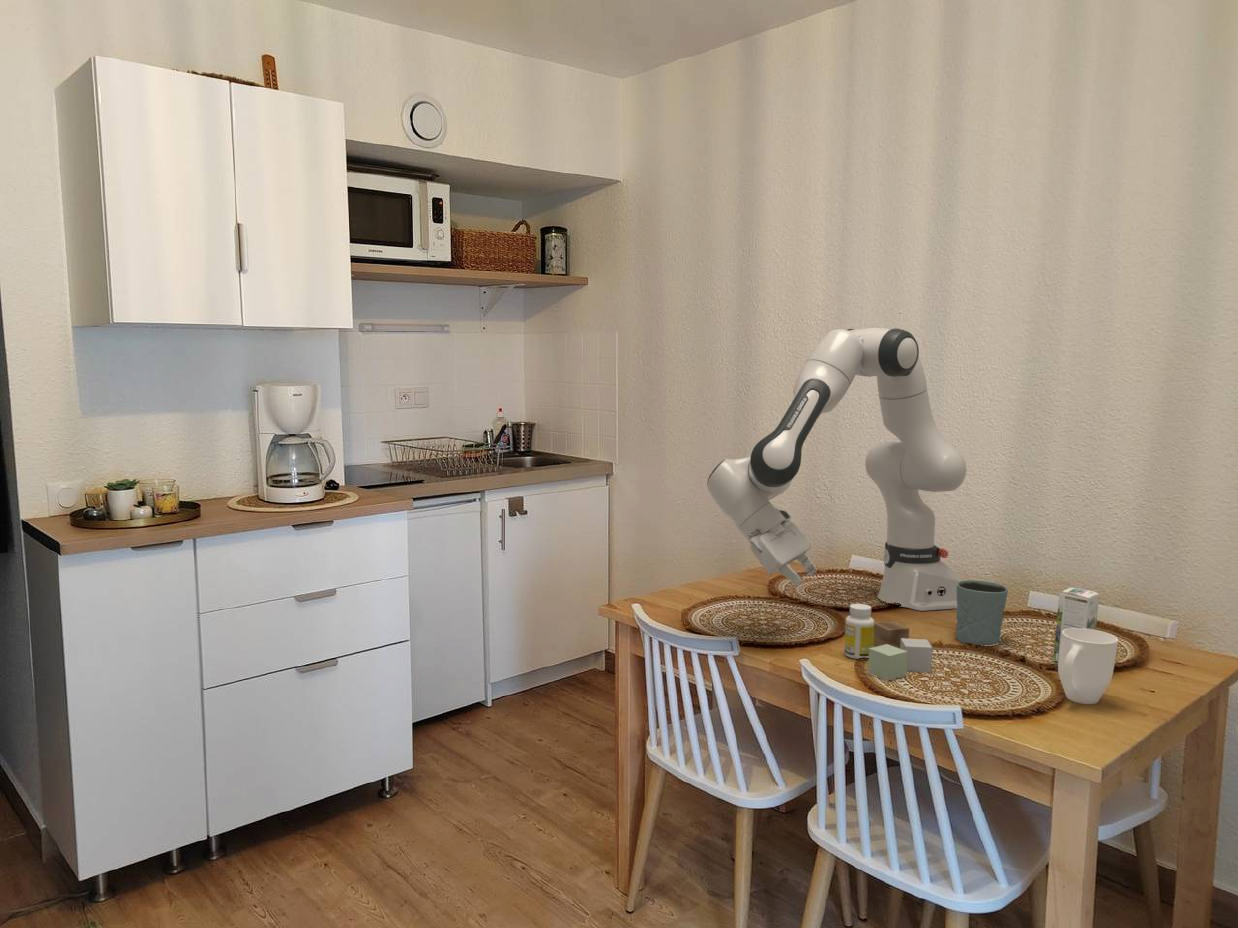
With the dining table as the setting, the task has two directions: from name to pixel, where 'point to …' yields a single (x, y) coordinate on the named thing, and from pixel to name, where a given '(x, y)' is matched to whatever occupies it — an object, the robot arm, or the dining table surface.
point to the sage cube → (887, 662)
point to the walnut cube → (889, 634)
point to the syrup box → (1075, 613)
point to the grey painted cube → (917, 654)
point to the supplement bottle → (859, 631)
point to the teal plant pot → (980, 611)
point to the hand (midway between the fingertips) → (807, 578)
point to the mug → (1086, 663)
